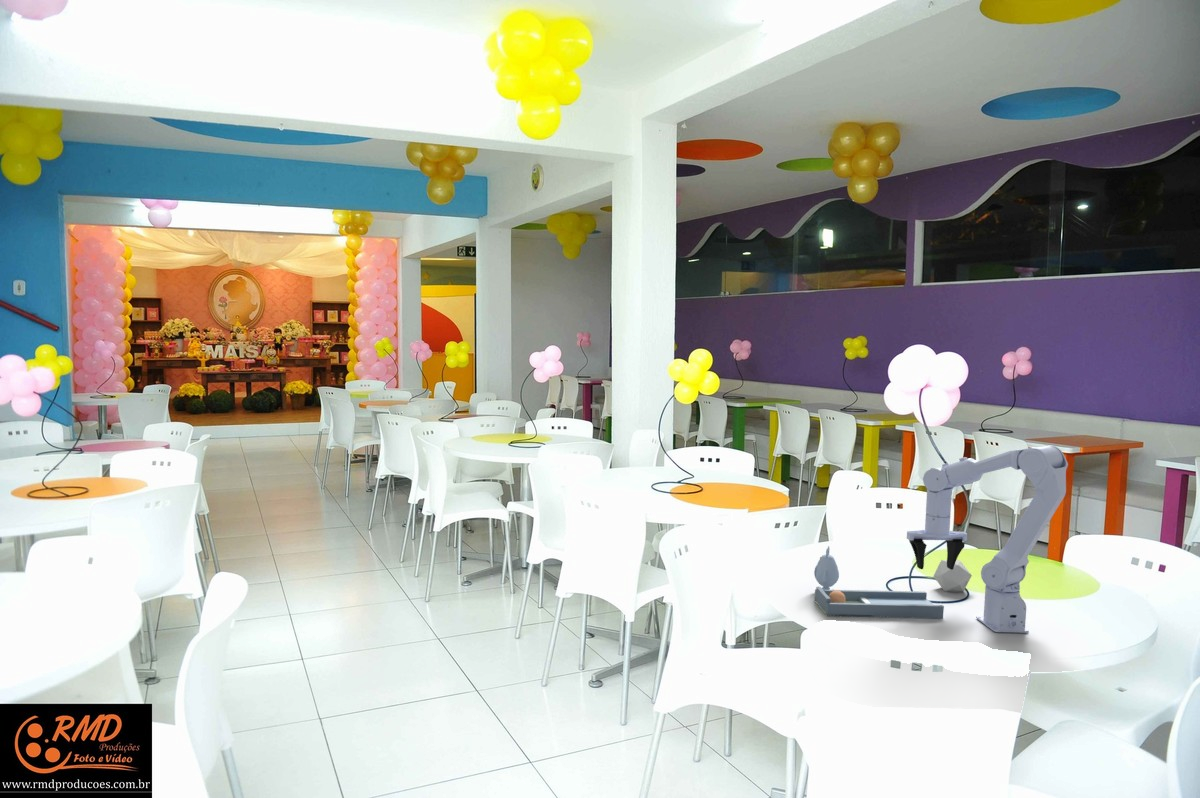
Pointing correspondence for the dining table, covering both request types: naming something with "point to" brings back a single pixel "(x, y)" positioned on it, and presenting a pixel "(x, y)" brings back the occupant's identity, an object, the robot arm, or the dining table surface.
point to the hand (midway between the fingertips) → (935, 568)
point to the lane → (879, 604)
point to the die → (952, 576)
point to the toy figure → (826, 571)
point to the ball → (837, 597)
